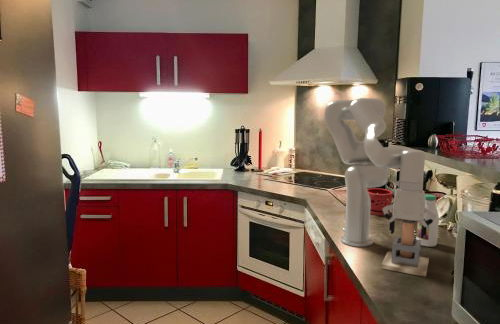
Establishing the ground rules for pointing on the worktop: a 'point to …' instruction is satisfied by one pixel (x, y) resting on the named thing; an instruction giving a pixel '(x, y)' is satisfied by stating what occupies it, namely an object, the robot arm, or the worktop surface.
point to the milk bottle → (431, 228)
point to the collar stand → (406, 259)
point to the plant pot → (379, 200)
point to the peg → (407, 236)
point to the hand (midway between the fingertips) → (407, 234)
